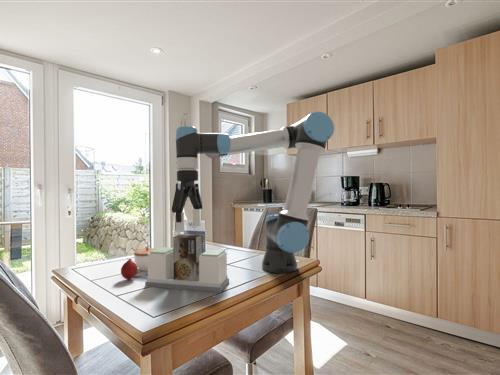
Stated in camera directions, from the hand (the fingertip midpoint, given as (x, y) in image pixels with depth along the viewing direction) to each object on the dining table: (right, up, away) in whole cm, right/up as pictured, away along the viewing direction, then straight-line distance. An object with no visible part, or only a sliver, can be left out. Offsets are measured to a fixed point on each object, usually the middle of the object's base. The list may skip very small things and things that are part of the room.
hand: (188, 228), depth 101 cm
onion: (-24, -20, +5) cm, 32 cm away
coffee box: (0, -19, 0) cm, 19 cm away
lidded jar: (-22, -20, +20) cm, 36 cm away
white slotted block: (0, -20, 0) cm, 20 cm away
